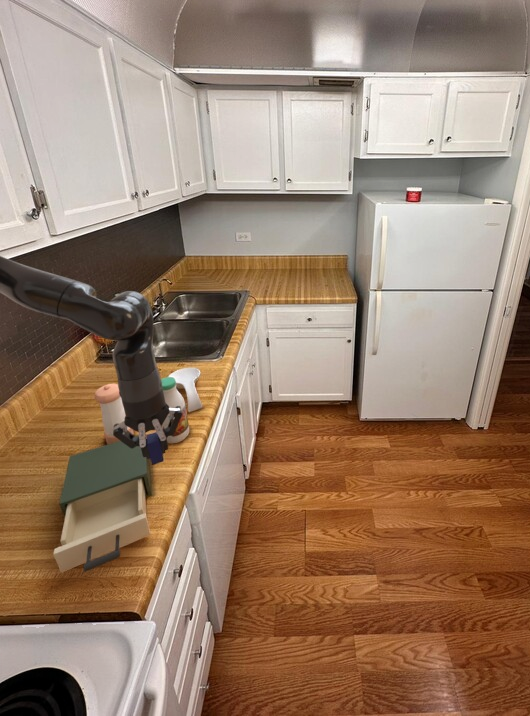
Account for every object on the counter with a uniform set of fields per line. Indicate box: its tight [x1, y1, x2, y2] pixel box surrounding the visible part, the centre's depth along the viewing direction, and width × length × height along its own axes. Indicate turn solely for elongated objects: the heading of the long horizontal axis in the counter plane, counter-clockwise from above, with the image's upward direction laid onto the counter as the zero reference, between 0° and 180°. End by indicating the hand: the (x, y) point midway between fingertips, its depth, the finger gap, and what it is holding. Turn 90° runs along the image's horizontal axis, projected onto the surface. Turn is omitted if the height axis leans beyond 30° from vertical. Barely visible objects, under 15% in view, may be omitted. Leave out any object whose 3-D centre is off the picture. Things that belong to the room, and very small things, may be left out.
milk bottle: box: [161, 376, 190, 444], centre depth 99 cm, size 8×8×20 cm
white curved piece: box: [167, 366, 203, 413], centre depth 121 cm, size 24×12×7 cm, turn 32°
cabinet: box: [58, 434, 153, 518], centre depth 85 cm, size 15×18×8 cm
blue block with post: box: [146, 431, 165, 466], centre depth 74 cm, size 2×7×6 cm, turn 27°
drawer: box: [53, 477, 151, 574], centre depth 73 cm, size 18×16×6 cm
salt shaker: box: [94, 383, 135, 445], centre depth 98 cm, size 7×7×19 cm
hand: (156, 453), depth 73 cm, fingers closed on blue block with post, 2 cm apart
